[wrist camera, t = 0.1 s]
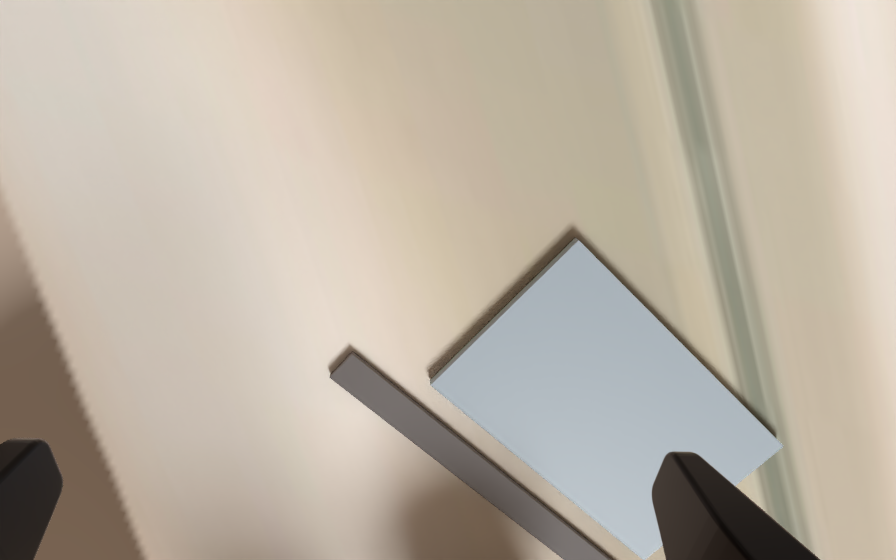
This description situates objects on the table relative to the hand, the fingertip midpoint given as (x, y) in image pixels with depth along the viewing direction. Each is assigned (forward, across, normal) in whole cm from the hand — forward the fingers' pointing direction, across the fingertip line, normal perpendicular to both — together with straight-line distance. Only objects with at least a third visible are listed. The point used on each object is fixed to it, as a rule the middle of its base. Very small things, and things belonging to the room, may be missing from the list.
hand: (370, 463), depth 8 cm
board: (+13, -10, +12) cm, 20 cm away
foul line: (+12, -6, +16) cm, 21 cm away
